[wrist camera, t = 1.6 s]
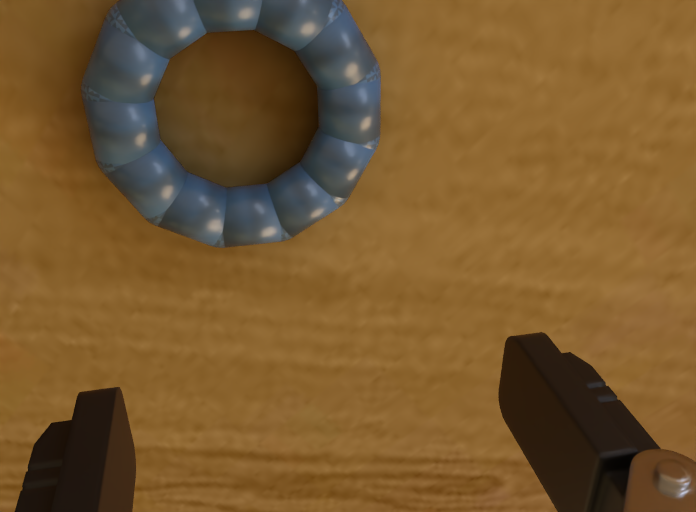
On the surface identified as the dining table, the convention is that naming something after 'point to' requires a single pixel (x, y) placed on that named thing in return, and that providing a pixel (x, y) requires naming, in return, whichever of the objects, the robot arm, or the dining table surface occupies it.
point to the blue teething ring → (198, 193)
